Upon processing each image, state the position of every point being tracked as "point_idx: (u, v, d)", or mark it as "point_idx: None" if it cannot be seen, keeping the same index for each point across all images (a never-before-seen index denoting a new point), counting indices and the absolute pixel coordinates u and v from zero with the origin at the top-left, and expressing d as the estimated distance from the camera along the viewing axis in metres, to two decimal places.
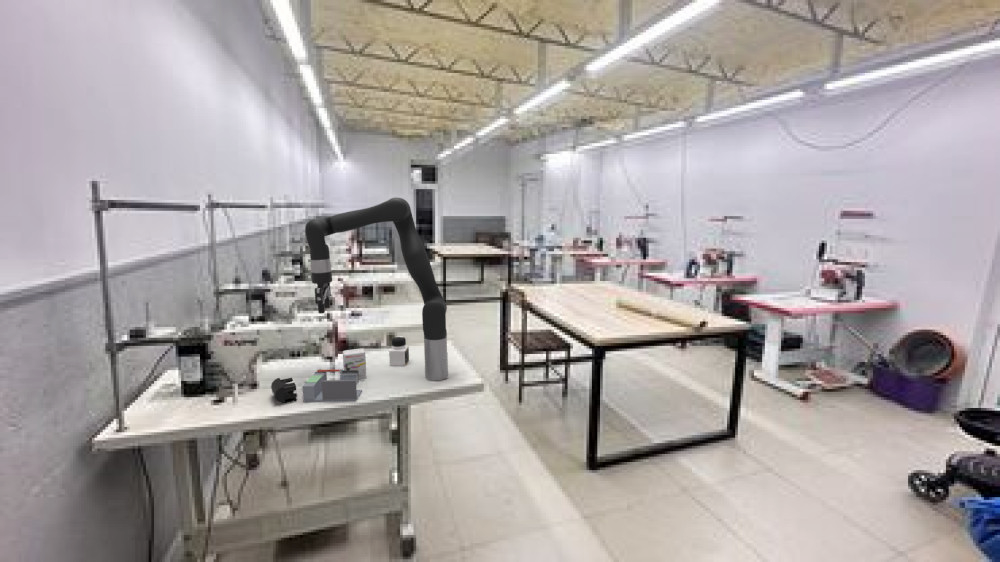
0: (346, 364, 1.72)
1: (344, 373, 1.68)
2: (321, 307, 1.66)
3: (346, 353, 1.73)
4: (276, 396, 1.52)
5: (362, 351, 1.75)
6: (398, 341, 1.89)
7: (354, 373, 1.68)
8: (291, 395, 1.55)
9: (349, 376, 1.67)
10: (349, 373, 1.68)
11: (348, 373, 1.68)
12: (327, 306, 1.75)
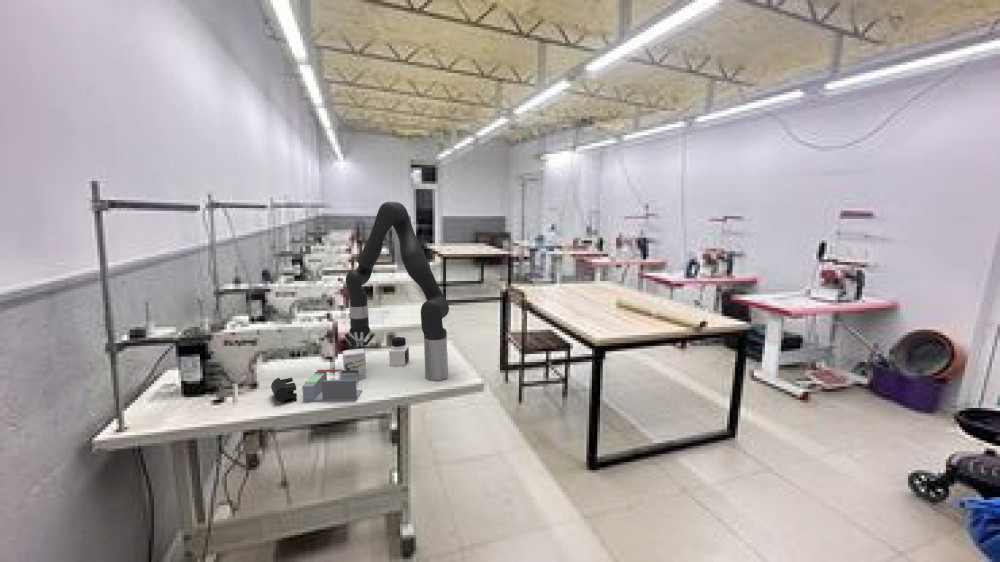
0: (346, 364, 1.72)
1: (344, 373, 1.68)
2: (364, 348, 1.86)
3: (346, 353, 1.73)
4: (276, 396, 1.52)
5: (362, 351, 1.75)
6: (398, 341, 1.89)
7: (354, 373, 1.68)
8: (291, 395, 1.55)
9: (349, 376, 1.67)
10: (349, 373, 1.68)
11: (348, 373, 1.68)
12: None
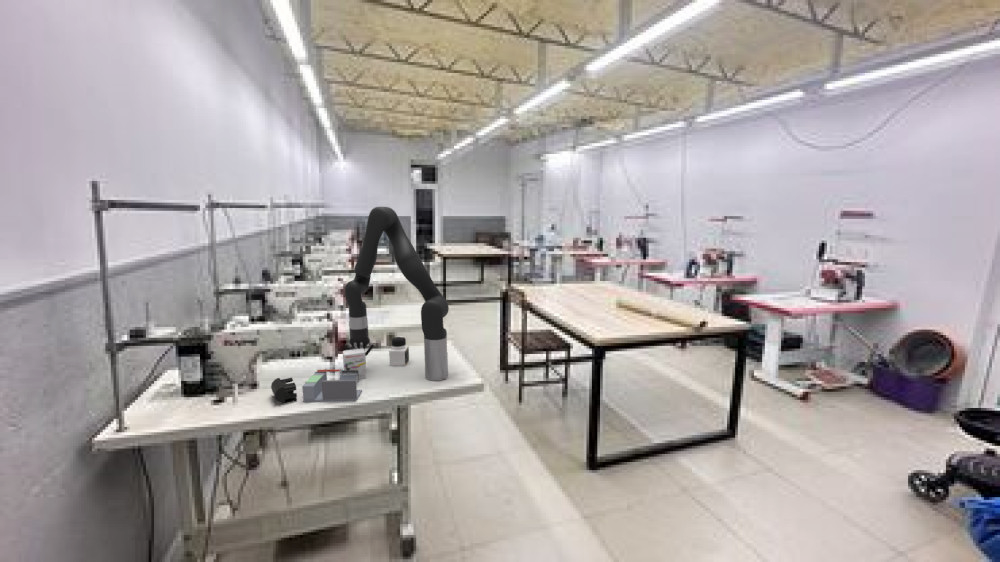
0: (346, 364, 1.72)
1: (344, 373, 1.68)
2: None
3: (346, 353, 1.73)
4: (276, 396, 1.52)
5: (362, 351, 1.75)
6: (398, 341, 1.89)
7: (354, 373, 1.68)
8: (291, 395, 1.55)
9: (349, 376, 1.67)
10: (349, 373, 1.68)
11: (348, 373, 1.68)
12: None
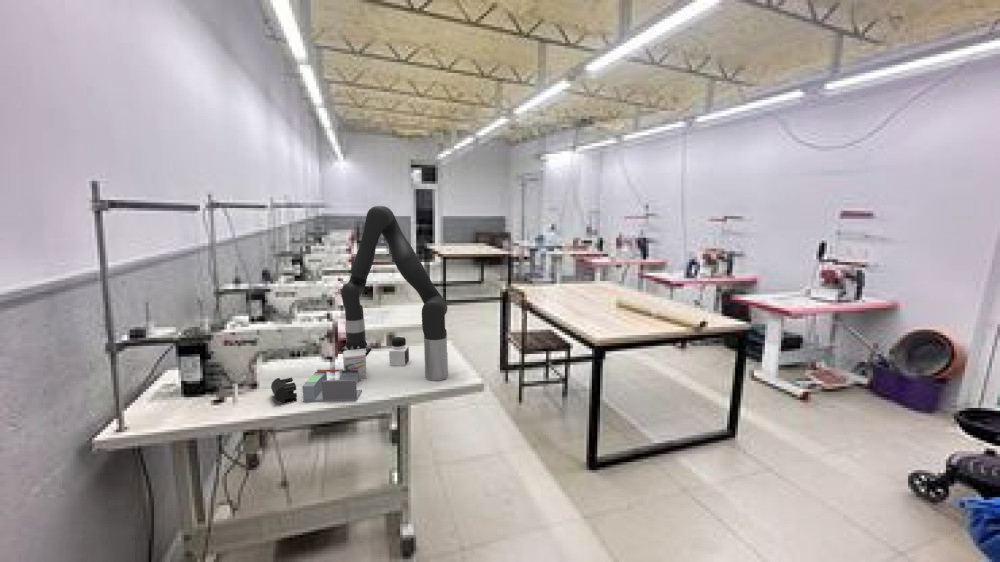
0: (346, 365, 1.71)
1: (344, 373, 1.68)
2: None
3: (346, 355, 1.71)
4: (276, 396, 1.52)
5: (362, 353, 1.73)
6: (398, 341, 1.89)
7: (354, 373, 1.68)
8: (291, 395, 1.55)
9: (349, 376, 1.67)
10: (349, 373, 1.68)
11: (348, 373, 1.68)
12: None
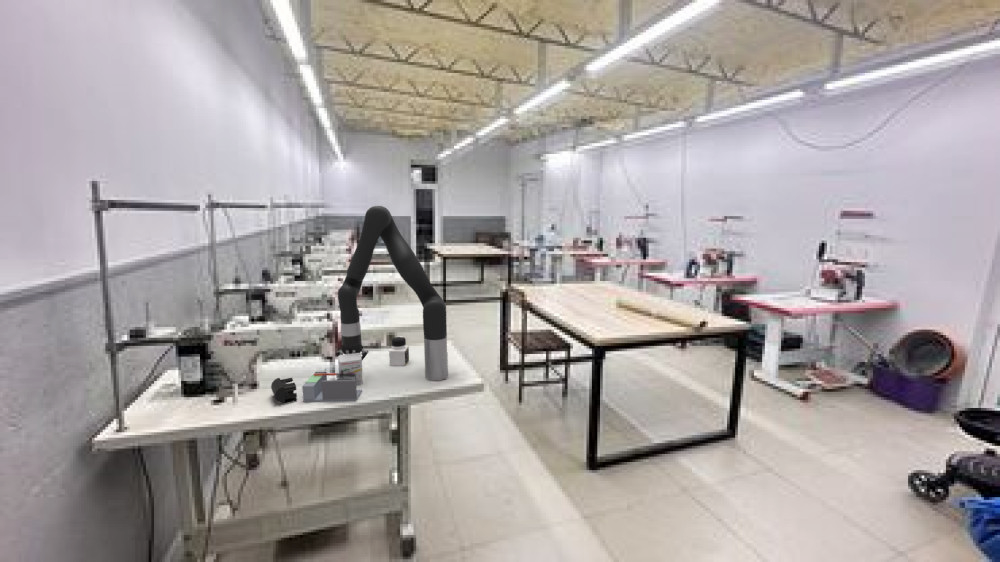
0: (341, 371, 1.66)
1: (341, 377, 1.64)
2: None
3: (342, 359, 1.65)
4: (276, 396, 1.52)
5: (359, 357, 1.68)
6: (398, 341, 1.89)
7: (351, 377, 1.64)
8: (291, 395, 1.55)
9: None
10: (346, 377, 1.64)
11: (345, 377, 1.64)
12: None
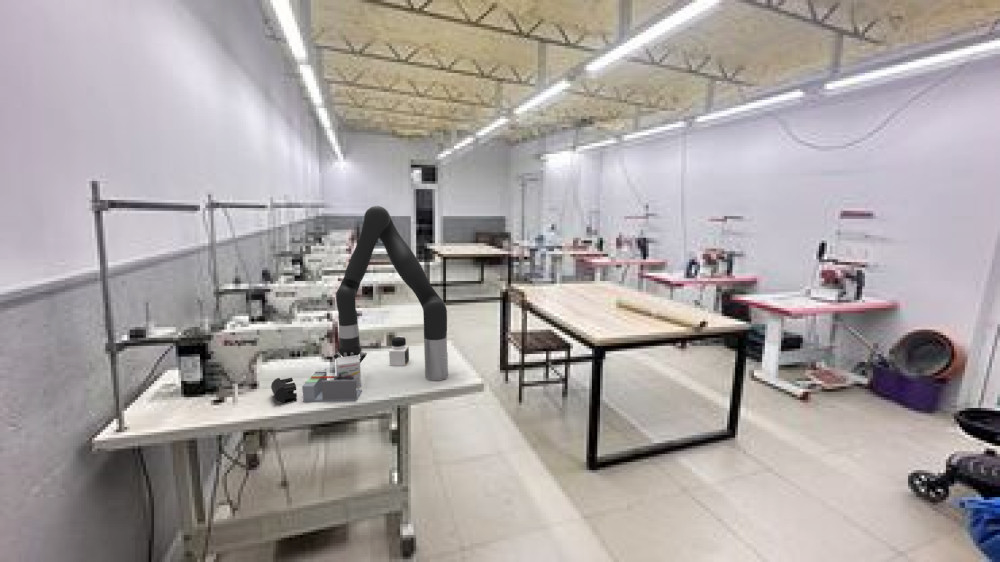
0: (339, 373, 1.63)
1: None
2: None
3: (340, 362, 1.63)
4: (276, 396, 1.52)
5: (357, 360, 1.65)
6: (398, 341, 1.89)
7: None
8: (291, 395, 1.55)
9: None
10: None
11: None
12: None
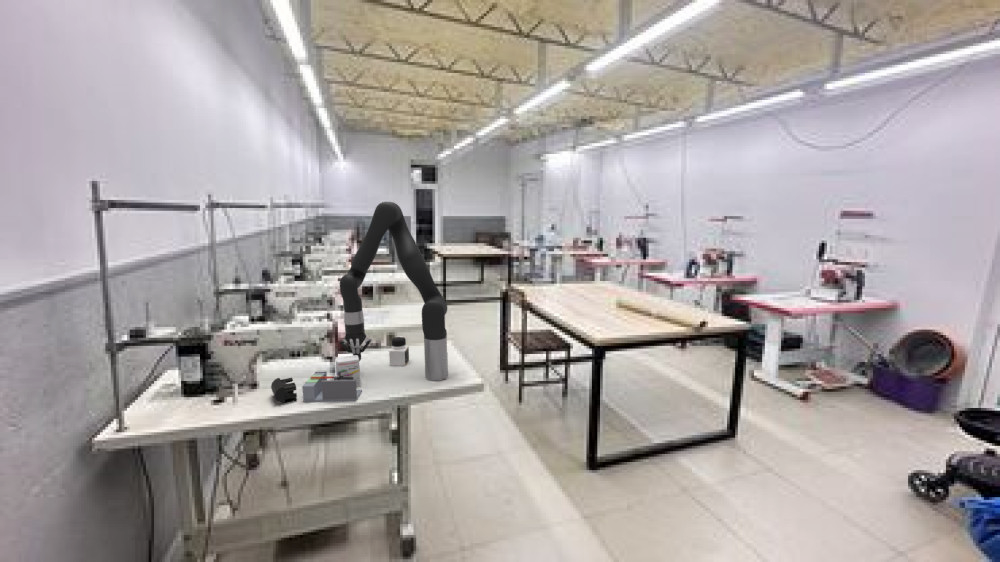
0: (339, 372, 1.64)
1: None
2: (360, 355, 1.78)
3: (339, 360, 1.65)
4: (276, 396, 1.52)
5: (356, 358, 1.67)
6: (398, 341, 1.89)
7: None
8: (291, 395, 1.55)
9: None
10: None
11: None
12: None
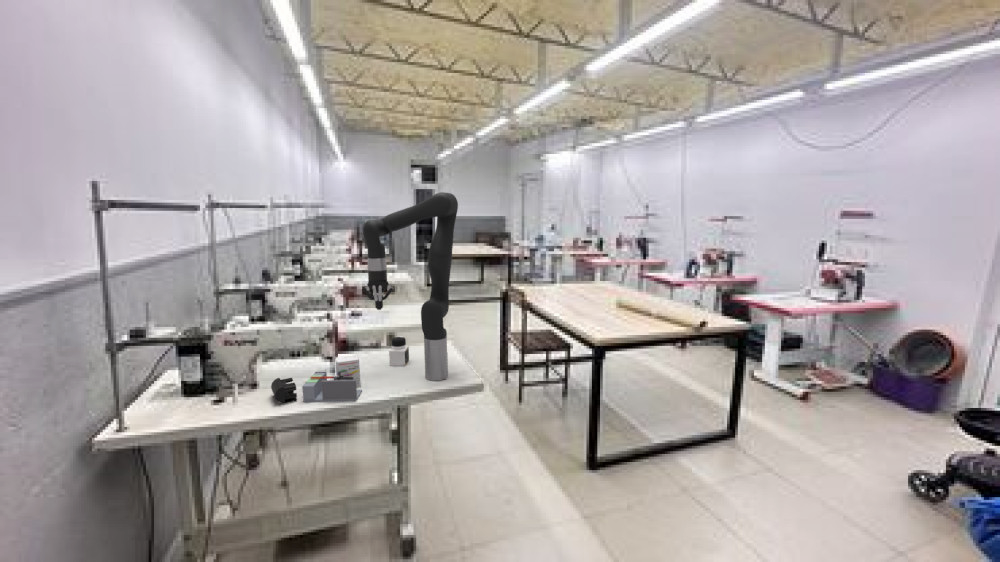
0: (339, 372, 1.64)
1: None
2: (382, 303, 1.81)
3: (339, 360, 1.65)
4: (276, 396, 1.52)
5: (356, 358, 1.67)
6: (398, 341, 1.89)
7: None
8: (291, 395, 1.55)
9: None
10: None
11: None
12: None
